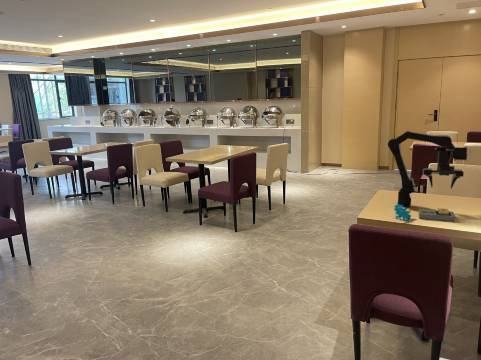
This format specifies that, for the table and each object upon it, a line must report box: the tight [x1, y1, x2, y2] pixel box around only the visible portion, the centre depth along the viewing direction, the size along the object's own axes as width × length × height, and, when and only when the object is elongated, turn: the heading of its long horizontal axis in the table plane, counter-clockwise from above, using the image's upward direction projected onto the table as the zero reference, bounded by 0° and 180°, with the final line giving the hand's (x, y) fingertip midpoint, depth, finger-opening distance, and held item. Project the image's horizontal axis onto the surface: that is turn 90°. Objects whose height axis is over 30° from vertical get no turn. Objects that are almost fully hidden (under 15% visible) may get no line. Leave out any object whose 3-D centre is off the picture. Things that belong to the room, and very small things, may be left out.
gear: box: [393, 203, 412, 222], centre depth 188 cm, size 11×6×10 cm
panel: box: [418, 208, 457, 223], centre depth 189 cm, size 16×9×3 cm, turn 68°
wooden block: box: [437, 207, 450, 216], centre depth 188 cm, size 4×4×5 cm
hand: (441, 187), depth 200 cm, fingers open, 9 cm apart
